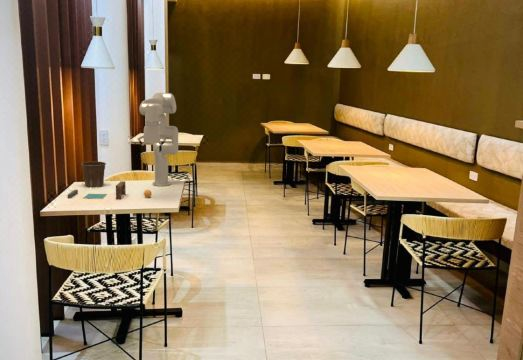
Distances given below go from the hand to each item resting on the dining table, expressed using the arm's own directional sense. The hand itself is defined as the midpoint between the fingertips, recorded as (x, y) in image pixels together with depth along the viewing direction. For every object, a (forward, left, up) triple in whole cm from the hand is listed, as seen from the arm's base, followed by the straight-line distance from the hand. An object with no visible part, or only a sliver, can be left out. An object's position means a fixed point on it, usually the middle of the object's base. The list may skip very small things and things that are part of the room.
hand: (151, 151), depth 305 cm
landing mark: (-4, -37, -30) cm, 48 cm away
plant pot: (-35, -46, -30) cm, 65 cm away
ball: (-4, -4, -28) cm, 28 cm away
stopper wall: (-4, -51, -30) cm, 59 cm away
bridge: (-4, -21, -30) cm, 37 cm away
